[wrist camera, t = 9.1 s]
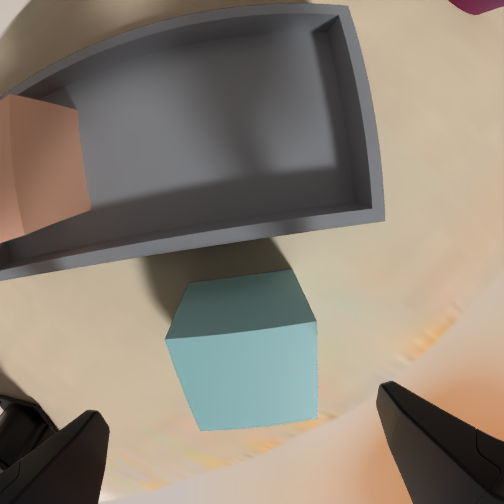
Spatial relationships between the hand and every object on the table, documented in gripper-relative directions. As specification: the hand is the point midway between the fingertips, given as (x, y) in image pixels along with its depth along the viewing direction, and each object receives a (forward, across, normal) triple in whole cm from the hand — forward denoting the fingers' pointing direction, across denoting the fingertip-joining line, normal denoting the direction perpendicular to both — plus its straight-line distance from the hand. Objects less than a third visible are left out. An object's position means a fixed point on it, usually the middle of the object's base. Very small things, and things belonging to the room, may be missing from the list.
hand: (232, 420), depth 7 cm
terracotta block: (+5, +7, -8) cm, 12 cm away
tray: (+6, +3, -9) cm, 11 cm away
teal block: (+6, -1, 0) cm, 6 cm away
